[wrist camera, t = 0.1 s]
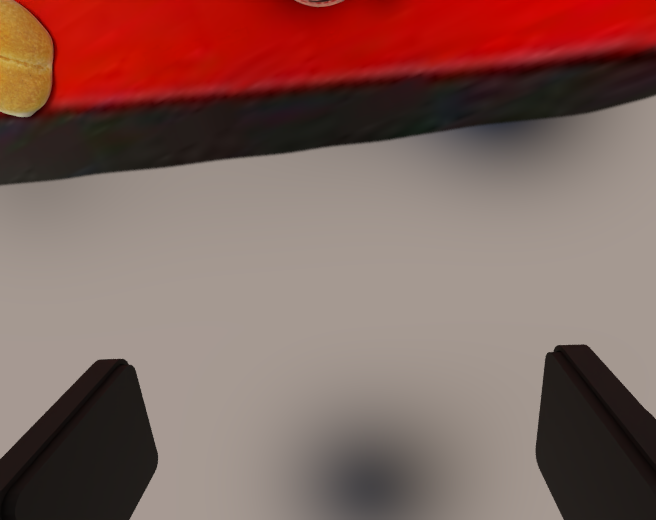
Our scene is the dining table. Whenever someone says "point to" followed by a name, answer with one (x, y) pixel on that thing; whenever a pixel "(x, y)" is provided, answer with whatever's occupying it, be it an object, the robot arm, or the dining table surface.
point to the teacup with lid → (319, 2)
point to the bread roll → (23, 61)
